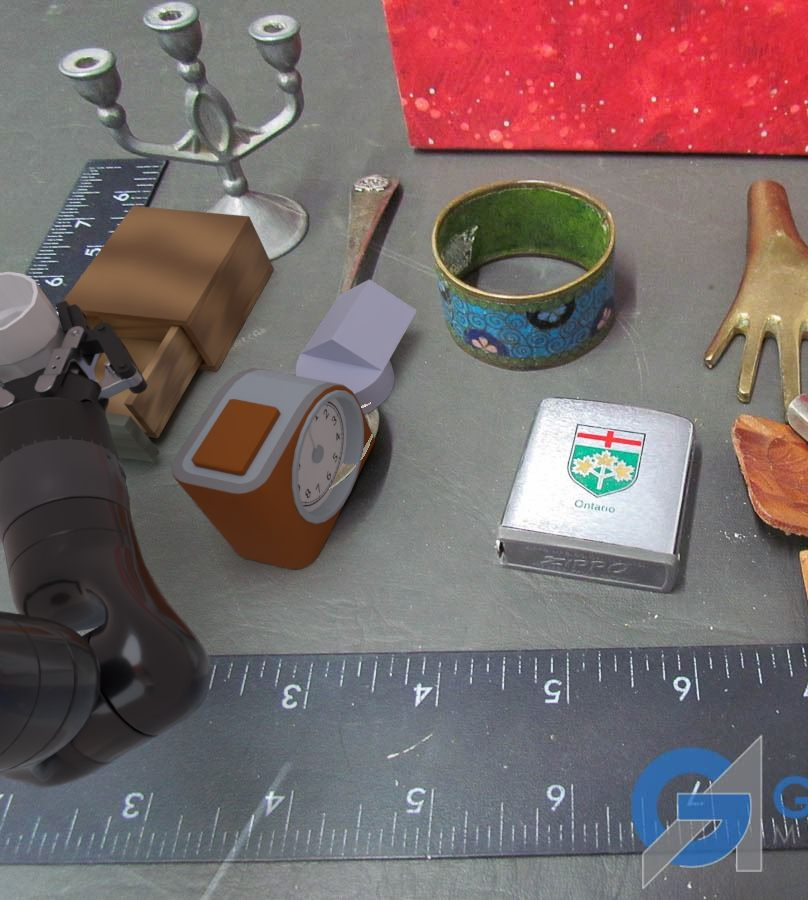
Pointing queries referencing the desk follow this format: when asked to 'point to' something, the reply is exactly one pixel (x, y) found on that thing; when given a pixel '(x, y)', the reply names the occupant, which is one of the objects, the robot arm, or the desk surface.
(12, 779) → the robot arm
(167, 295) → the cabinet
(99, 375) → the drawer
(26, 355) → the cup
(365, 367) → the wedge on round base
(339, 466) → the alarm clock
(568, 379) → the desk surface
